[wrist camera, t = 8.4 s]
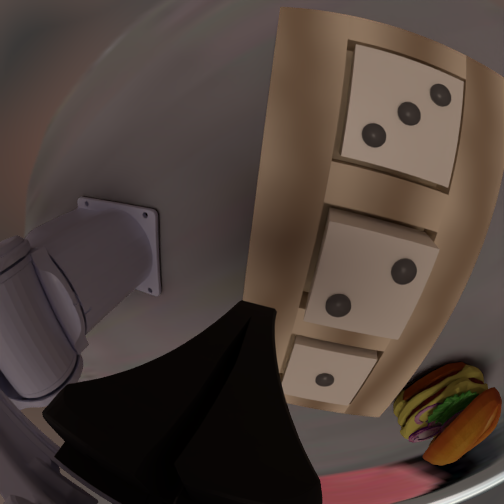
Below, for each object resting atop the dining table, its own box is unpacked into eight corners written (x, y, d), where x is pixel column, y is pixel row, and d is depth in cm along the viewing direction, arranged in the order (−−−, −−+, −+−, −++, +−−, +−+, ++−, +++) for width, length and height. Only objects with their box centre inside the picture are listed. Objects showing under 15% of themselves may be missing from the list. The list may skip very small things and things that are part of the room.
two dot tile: (307, 297, 17) (302, 323, 15) (329, 207, 15) (329, 222, 12) (392, 315, 16) (398, 342, 14) (425, 232, 13) (441, 251, 11)
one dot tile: (284, 370, 22) (278, 394, 20) (299, 320, 20) (294, 345, 17) (348, 383, 21) (347, 407, 19) (374, 336, 18) (377, 361, 16)
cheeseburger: (398, 364, 20) (439, 453, 11) (482, 331, 19) (532, 393, 10) (383, 421, 24) (405, 492, 14) (457, 392, 23) (488, 449, 13)
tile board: (241, 365, 25) (231, 388, 22) (288, 25, 12) (280, 7, 10) (377, 393, 22) (378, 417, 20) (488, 86, 10) (511, 82, 7)
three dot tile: (338, 152, 14) (341, 156, 12) (351, 57, 12) (356, 42, 9) (431, 179, 13) (449, 188, 11) (446, 87, 10) (465, 81, 8)
